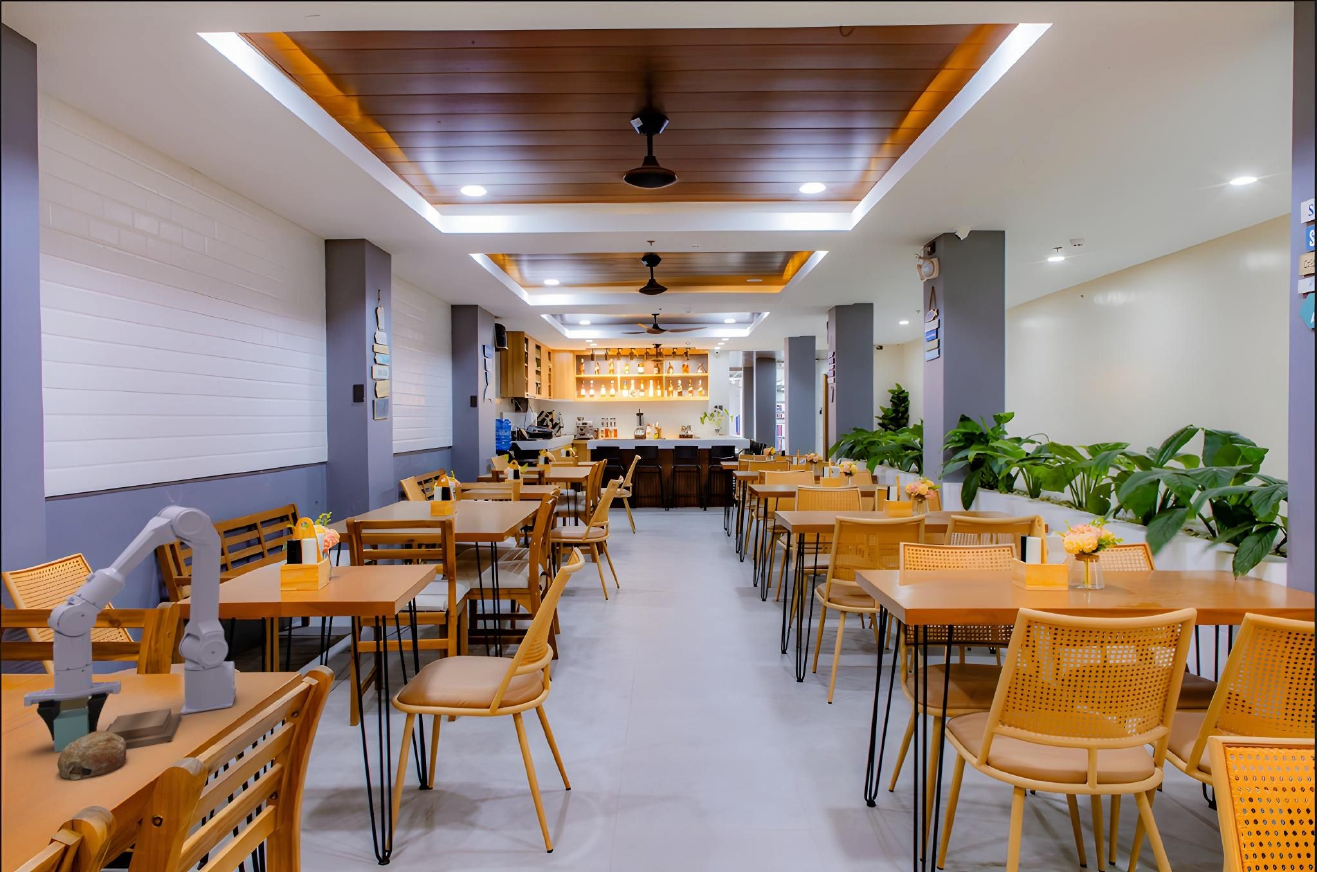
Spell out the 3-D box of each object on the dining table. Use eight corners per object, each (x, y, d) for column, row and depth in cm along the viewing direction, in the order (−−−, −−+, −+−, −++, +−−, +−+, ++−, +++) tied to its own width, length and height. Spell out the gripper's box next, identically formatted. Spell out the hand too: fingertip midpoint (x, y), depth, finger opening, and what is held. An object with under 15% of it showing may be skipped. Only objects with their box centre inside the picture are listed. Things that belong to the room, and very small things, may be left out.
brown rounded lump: (53, 801, 125) (44, 768, 122) (71, 753, 133) (63, 721, 130) (122, 789, 129) (116, 757, 126) (135, 743, 137) (129, 712, 134)
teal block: (94, 736, 142) (94, 706, 142) (87, 746, 138) (86, 715, 137) (62, 741, 140) (62, 710, 140) (54, 752, 135) (53, 720, 135)
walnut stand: (181, 718, 150) (180, 704, 150) (170, 741, 140) (170, 726, 139) (110, 729, 145) (110, 714, 145) (94, 754, 134) (93, 738, 134)
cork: (69, 713, 153) (68, 662, 153) (46, 711, 155) (45, 660, 154) (97, 702, 159) (95, 653, 159) (74, 700, 160) (73, 651, 160)
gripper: (124, 654, 145) (125, 720, 145) (32, 665, 139) (34, 734, 139) (115, 664, 139) (117, 734, 139) (18, 676, 133) (20, 749, 133)
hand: (74, 735), depth 139 cm, fingers closed on teal block, 5 cm apart
